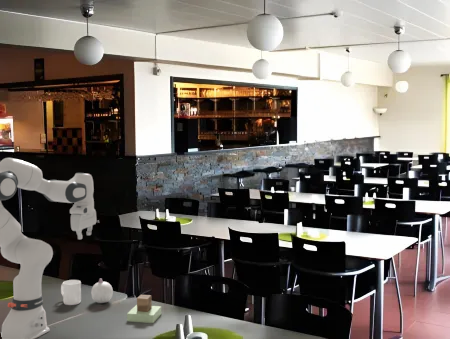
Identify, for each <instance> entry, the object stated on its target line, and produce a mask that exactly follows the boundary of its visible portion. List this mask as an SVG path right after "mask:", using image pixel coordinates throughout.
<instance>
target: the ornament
mask: <svg viewBox="0 0 450 339" xmlns="http://www.w3.org/2000/svg"><path fill="white" fill-rule="evenodd" d="M90 291H91V294H90V295H91V298H92V300H93V301H94V302H95V303H97V304H105V303H108V302H109V301H110V300H111V299H112V298H113V294H114V290H113V287H112V285H111V284H110V283H109V282H107V281H103V278H99V279H98V282H96V283H95V284H93V285H92V287H91V290H90Z"/></svg>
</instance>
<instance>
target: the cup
mask: <svg viewBox="0 0 450 339" xmlns="http://www.w3.org/2000/svg"><path fill="white" fill-rule="evenodd" d="M60 293H61V295H62V298H63V301H62V302H63V304H64V305H66V306H75V305H78V304H79V305H80V303H81V301H82V282H81V280H79V279H69V280H65V281H63V282H62V283H61V285H60Z"/></svg>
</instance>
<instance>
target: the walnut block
mask: <svg viewBox="0 0 450 339" xmlns="http://www.w3.org/2000/svg"><path fill="white" fill-rule="evenodd" d="M152 299H153V298H152V295H150V294H140V295H139V296H138V297H136V305H137V311H140V312H148V311H149V310H150V309H152V306H153V305H152V304H153V302H152V301H153V300H152Z"/></svg>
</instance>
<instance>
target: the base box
mask: <svg viewBox="0 0 450 339" xmlns="http://www.w3.org/2000/svg"><path fill="white" fill-rule="evenodd" d="M161 315H162V306H159V305H152V309H150V310H149V311H148V312H140V311H137V304H136V305H135V306H134V307H132V308H131V309H130V310H129V311H128V312H127V313H126V316H127V317H126V321H127V322H133V323H147V324H154V323H155V322H156V321H157V320H158V319H159V317H160V316H161Z"/></svg>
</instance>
